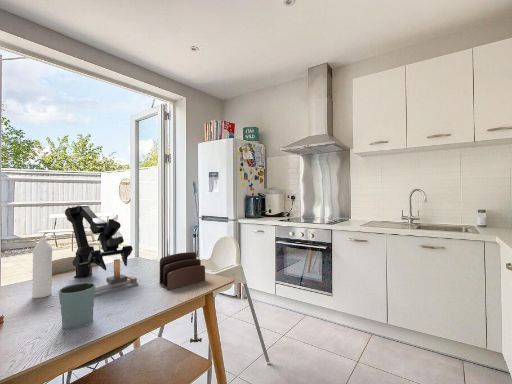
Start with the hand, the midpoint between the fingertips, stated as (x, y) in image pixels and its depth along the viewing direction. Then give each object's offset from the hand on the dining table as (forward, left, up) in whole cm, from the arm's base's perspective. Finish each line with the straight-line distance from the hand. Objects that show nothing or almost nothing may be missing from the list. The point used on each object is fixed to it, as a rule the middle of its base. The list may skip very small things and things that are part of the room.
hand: (116, 267), depth 122 cm
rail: (-3, -4, -9) cm, 10 cm away
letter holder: (+31, +3, -9) cm, 32 cm away
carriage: (+1, -1, -6) cm, 6 cm away
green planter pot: (+3, -36, -9) cm, 37 cm away
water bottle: (-27, -7, -9) cm, 30 cm away
